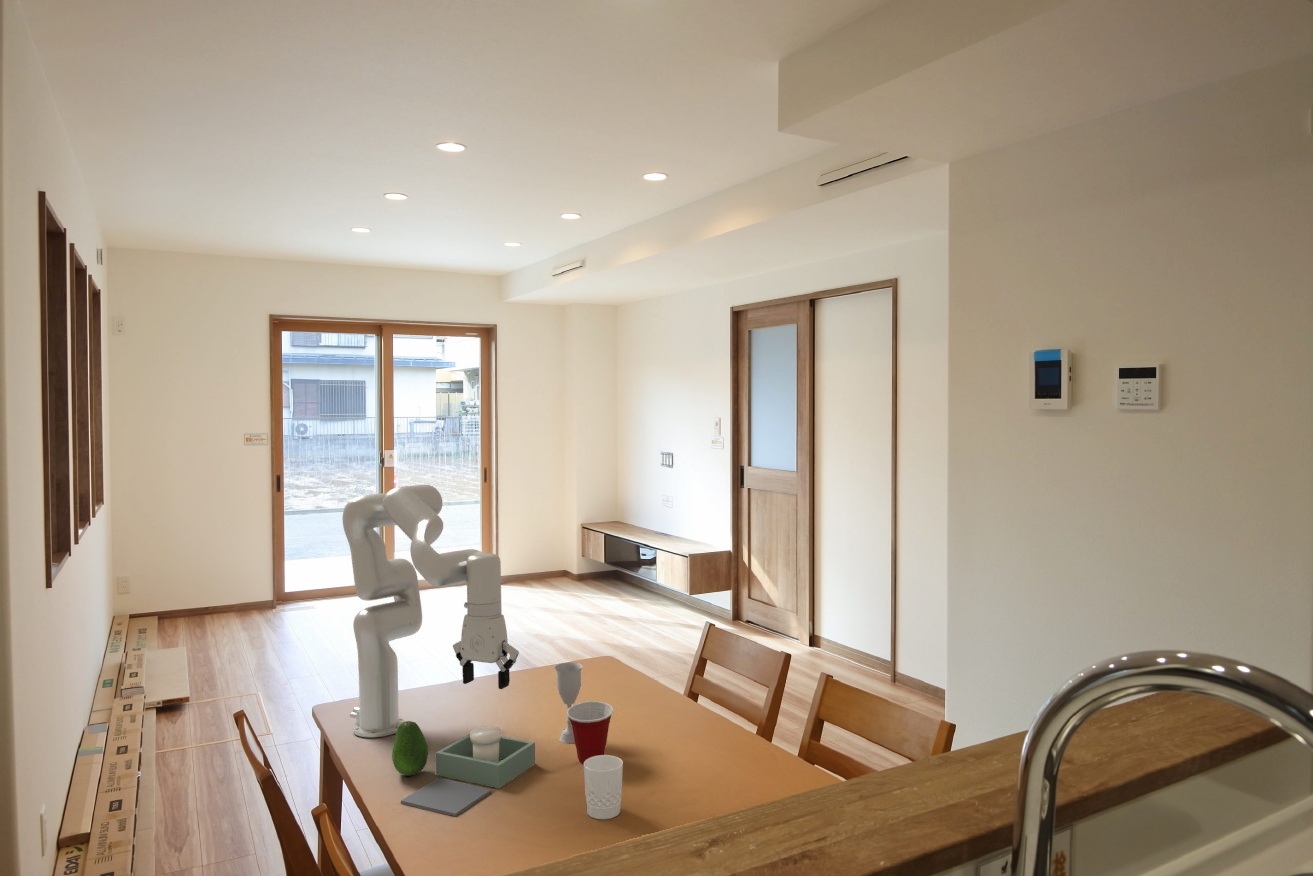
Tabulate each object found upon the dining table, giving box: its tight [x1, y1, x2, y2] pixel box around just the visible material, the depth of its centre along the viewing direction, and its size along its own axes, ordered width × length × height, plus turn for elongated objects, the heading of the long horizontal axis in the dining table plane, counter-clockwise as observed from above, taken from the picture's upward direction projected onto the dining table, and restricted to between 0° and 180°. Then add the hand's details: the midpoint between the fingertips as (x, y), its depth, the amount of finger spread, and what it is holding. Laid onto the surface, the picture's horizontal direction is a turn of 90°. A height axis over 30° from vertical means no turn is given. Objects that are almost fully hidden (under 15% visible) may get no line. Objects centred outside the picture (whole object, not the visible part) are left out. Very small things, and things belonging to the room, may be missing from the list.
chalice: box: [554, 661, 584, 744], centre depth 208 cm, size 7×7×18 cm
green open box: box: [435, 733, 536, 789], centre depth 191 cm, size 17×14×5 cm
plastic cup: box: [566, 700, 614, 765], centre depth 196 cm, size 11×11×12 cm
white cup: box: [583, 754, 624, 820], centre depth 170 cm, size 8×8×10 cm
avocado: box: [391, 720, 429, 777], centre depth 188 cm, size 8×8×12 cm
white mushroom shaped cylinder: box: [469, 725, 503, 763], centre depth 191 cm, size 7×7×9 cm
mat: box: [400, 777, 493, 818], centre depth 177 cm, size 14×12×1 cm
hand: (486, 684), depth 191 cm, fingers open, 9 cm apart
